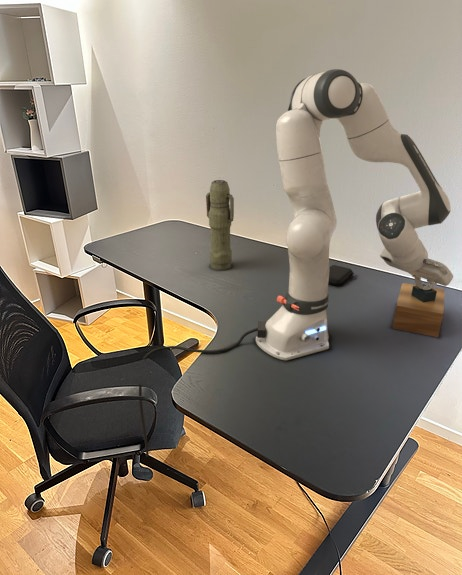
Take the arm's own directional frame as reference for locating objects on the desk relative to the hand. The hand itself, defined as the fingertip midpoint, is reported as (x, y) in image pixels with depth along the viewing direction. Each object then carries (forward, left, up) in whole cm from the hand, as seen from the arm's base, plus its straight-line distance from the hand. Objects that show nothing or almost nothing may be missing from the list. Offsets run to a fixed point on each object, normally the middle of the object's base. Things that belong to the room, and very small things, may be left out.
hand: (424, 278), depth 134 cm
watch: (+1, 0, -7) cm, 7 cm away
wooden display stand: (+1, 0, -15) cm, 15 cm away
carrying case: (+4, +37, -15) cm, 40 cm away
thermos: (-25, +74, -15) cm, 80 cm away
